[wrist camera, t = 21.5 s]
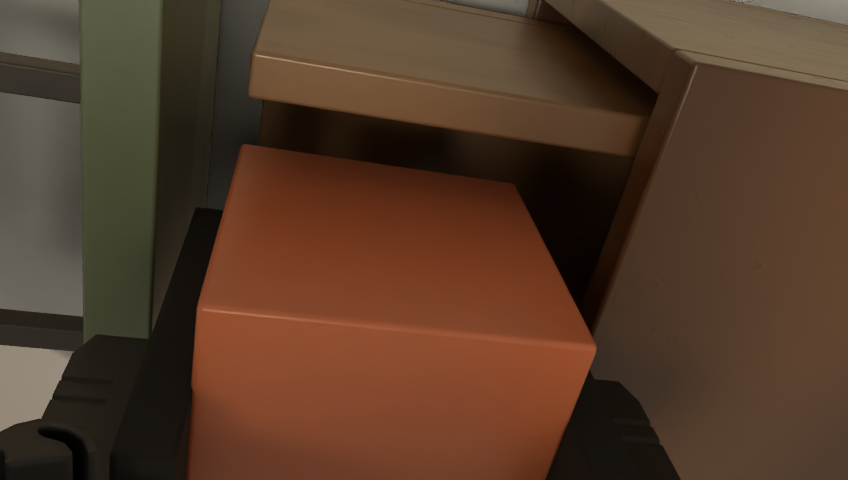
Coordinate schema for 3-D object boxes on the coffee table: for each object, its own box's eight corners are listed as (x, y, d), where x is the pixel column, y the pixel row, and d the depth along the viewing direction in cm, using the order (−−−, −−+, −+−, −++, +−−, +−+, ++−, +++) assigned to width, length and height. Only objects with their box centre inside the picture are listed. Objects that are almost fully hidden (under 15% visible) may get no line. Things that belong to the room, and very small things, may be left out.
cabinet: (439, 339, 25) (492, 589, 17) (539, -40, 20) (694, 61, 11) (806, 375, 28) (1005, 605, 20) (989, 54, 23) (1376, 191, 14)
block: (219, 367, 17) (175, 587, 12) (241, 141, 14) (196, 305, 9) (455, 389, 18) (501, 597, 13) (515, 181, 15) (600, 348, 10)
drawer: (-51, 291, 21) (-225, 507, 15) (-101, -141, 16) (-407, -113, 9) (568, 353, 25) (656, 546, 19) (692, 20, 20) (877, 121, 13)
